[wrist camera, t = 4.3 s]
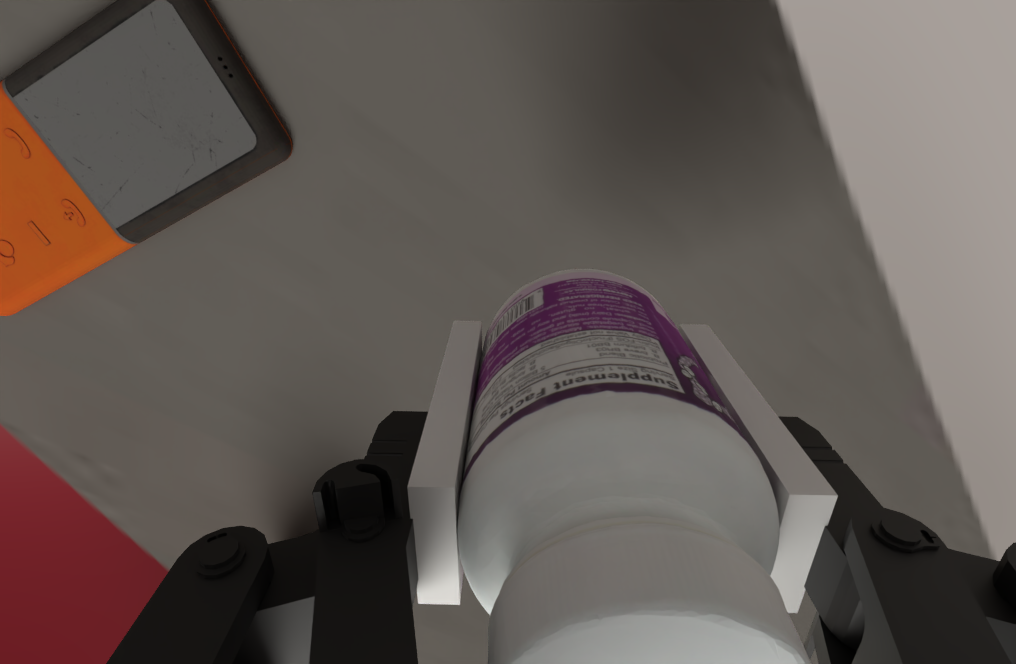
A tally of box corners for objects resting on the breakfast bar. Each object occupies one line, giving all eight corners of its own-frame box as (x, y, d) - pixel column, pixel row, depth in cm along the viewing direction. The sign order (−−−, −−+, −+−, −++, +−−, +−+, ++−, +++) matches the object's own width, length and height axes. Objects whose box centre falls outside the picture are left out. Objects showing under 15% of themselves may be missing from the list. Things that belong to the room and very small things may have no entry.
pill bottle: (680, 414, 16) (871, 823, 7) (505, 442, 17) (487, 852, 8) (664, 241, 14) (913, 533, 5) (461, 281, 14) (368, 606, 6)
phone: (-151, 176, 19) (166, -46, 16) (-112, 171, 21) (190, -37, 18) (-10, 325, 22) (291, 154, 19) (18, 313, 23) (305, 150, 20)
